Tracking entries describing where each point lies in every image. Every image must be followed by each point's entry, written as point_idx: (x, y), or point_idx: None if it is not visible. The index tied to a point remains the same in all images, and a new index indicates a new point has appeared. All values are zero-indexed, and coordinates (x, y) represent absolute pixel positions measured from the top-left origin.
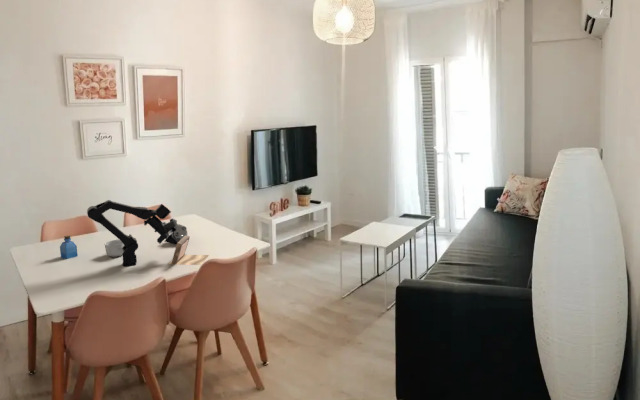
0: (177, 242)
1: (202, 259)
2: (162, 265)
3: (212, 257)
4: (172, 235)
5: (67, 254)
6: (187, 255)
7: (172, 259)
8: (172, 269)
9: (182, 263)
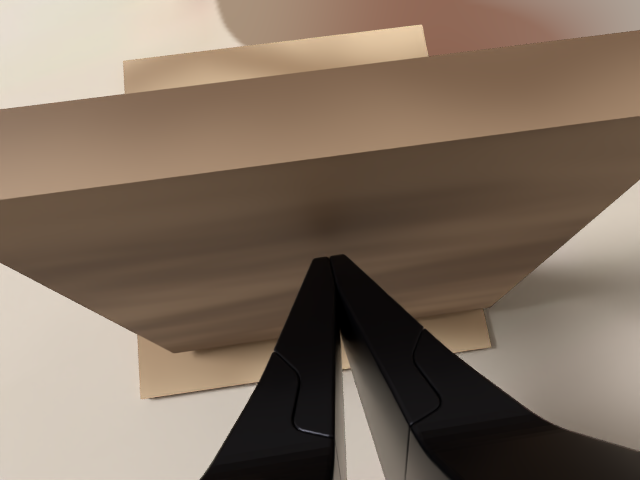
0: (370, 279)
1: (270, 68)
2: None
3: (176, 18)
4: (567, 463)
5: None
6: None
7: (508, 290)
8: (593, 235)
9: None
